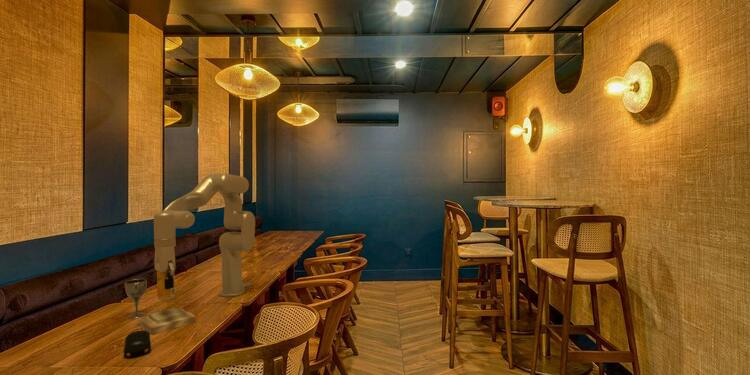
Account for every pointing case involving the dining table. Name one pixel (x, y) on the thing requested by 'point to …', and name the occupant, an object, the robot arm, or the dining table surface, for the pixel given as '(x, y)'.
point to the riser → (166, 320)
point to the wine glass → (136, 294)
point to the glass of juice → (163, 286)
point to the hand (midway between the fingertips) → (166, 286)
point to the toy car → (137, 344)
